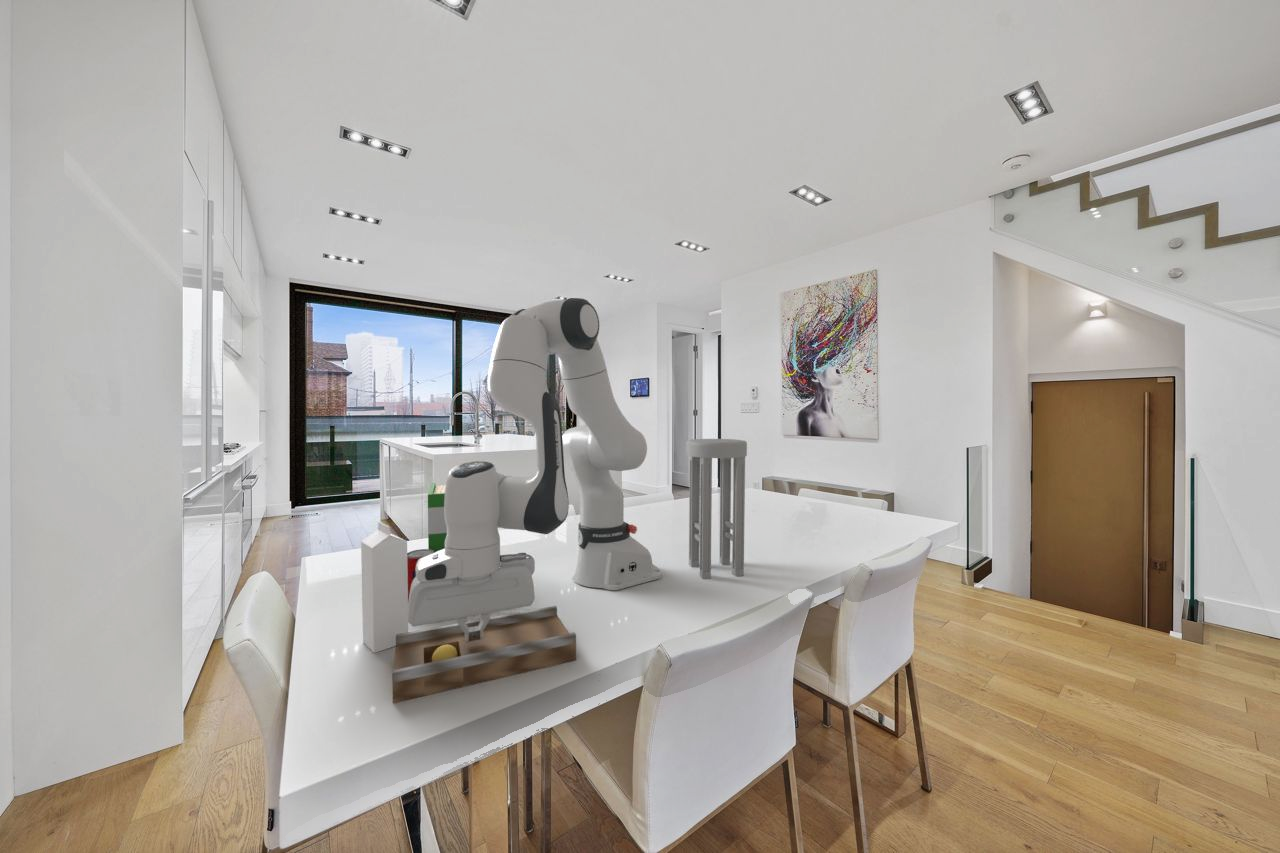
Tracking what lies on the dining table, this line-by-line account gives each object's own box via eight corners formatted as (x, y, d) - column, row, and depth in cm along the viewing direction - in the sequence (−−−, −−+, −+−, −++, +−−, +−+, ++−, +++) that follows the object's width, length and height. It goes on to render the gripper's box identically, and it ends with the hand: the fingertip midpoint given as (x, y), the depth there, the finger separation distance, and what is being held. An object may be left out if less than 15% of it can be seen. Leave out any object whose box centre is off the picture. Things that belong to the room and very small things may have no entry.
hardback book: (432, 574, 123) (431, 482, 122) (462, 571, 125) (462, 481, 124) (429, 600, 106) (427, 494, 105) (464, 595, 109) (463, 492, 108)
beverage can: (424, 615, 98) (423, 558, 98) (396, 612, 100) (395, 556, 99) (444, 602, 105) (443, 549, 105) (417, 599, 106) (416, 547, 106)
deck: (555, 628, 93) (555, 605, 93) (576, 660, 81) (576, 634, 81) (396, 660, 81) (395, 634, 81) (392, 703, 69) (392, 673, 69)
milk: (396, 631, 91) (395, 518, 91) (409, 642, 87) (408, 524, 87) (361, 642, 87) (360, 524, 86) (373, 654, 83) (371, 529, 82)
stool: (697, 582, 118) (698, 442, 116) (679, 562, 133) (680, 438, 132) (754, 578, 121) (756, 442, 120) (731, 559, 136) (732, 438, 135)
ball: (456, 637, 80) (430, 643, 79) (458, 648, 77) (431, 654, 75) (457, 660, 81) (431, 666, 79) (459, 672, 77) (432, 679, 75)
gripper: (530, 546, 87) (531, 620, 87) (407, 561, 78) (408, 643, 79) (538, 556, 81) (539, 634, 82) (406, 573, 72) (407, 661, 73)
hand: (474, 639), depth 80 cm, fingers closed
